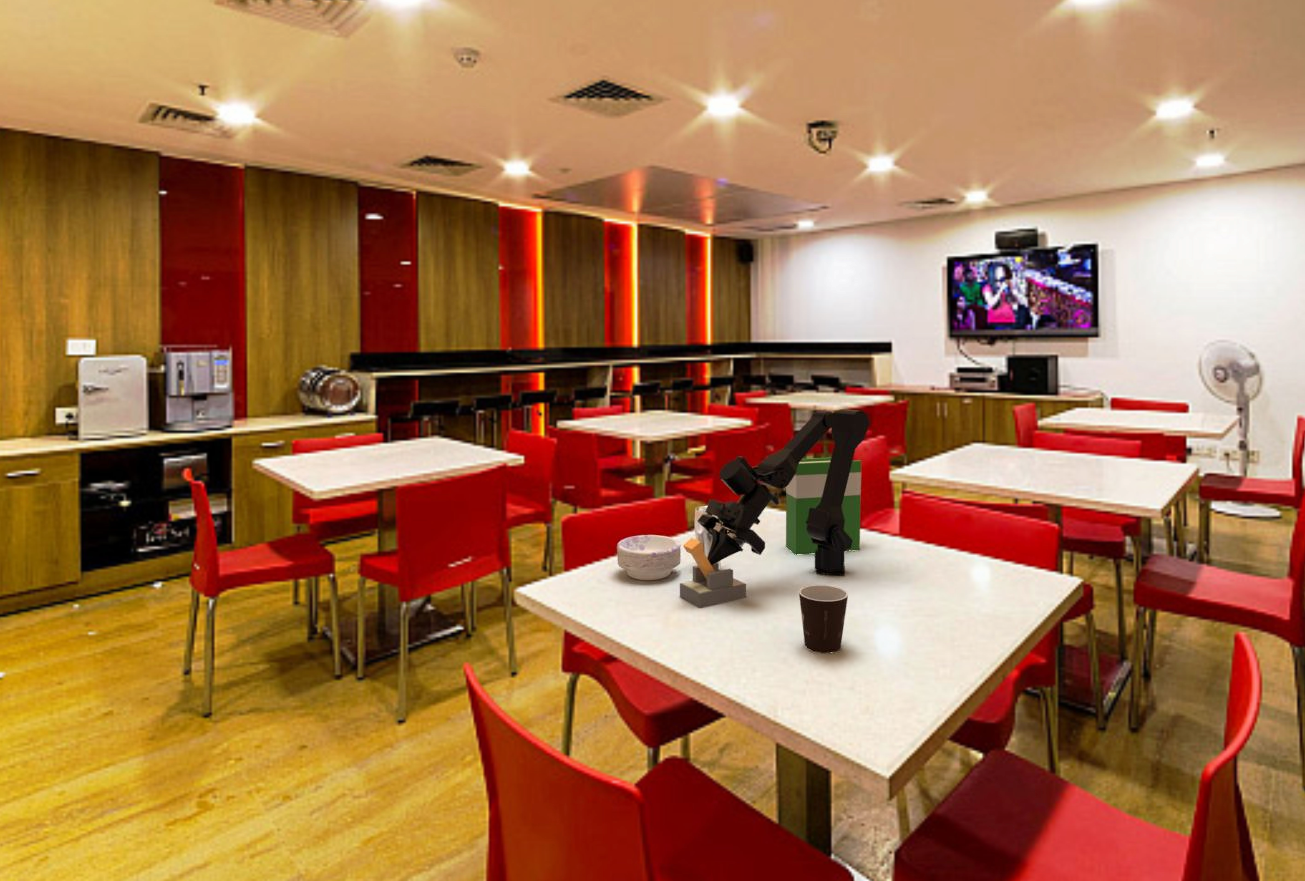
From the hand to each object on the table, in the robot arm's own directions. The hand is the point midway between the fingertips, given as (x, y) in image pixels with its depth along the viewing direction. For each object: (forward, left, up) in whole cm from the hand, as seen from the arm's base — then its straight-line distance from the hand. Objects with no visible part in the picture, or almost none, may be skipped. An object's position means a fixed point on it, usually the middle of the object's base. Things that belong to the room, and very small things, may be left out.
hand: (708, 564), depth 157 cm
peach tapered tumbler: (+4, -21, -8) cm, 23 cm away
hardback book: (-22, -44, -8) cm, 50 cm away
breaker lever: (-1, -1, -4) cm, 4 cm away
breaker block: (-1, -1, -8) cm, 8 cm away
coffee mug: (-25, +21, -8) cm, 34 cm away
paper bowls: (+17, -13, -8) cm, 23 cm away
